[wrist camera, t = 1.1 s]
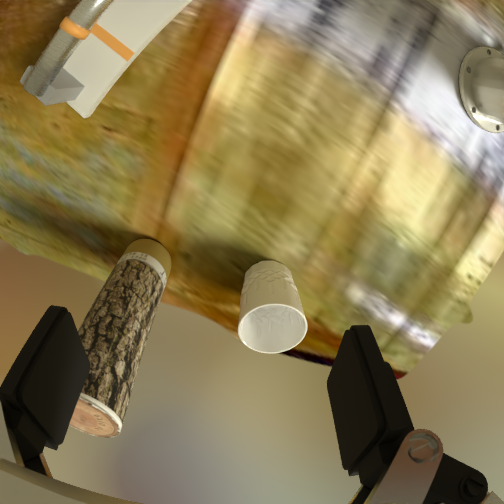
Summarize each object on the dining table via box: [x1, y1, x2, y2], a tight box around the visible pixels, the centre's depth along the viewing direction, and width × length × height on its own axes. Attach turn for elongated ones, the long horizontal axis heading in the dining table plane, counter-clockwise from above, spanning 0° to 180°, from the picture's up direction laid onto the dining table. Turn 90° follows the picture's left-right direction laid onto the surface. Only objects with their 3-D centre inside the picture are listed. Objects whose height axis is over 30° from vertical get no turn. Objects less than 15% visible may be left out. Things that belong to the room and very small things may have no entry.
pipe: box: [23, 0, 116, 97], centre depth 19 cm, size 21×3×3 cm, turn 135°
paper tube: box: [69, 239, 172, 437], centre depth 31 cm, size 7×7×25 cm
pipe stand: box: [20, 0, 192, 118], centre depth 22 cm, size 24×10×8 cm, turn 135°
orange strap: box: [59, 16, 134, 61], centre depth 22 cm, size 1×10×8 cm, turn 45°
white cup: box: [238, 260, 307, 353], centre depth 39 cm, size 8×8×10 cm
